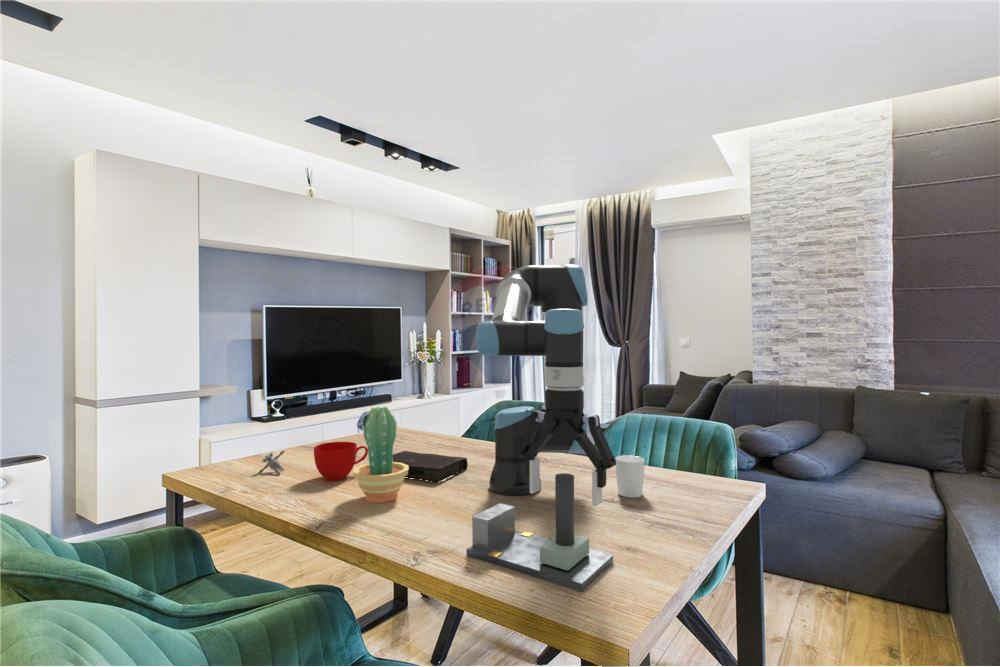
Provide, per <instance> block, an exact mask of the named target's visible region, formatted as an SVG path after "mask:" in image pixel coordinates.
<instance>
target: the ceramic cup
mask: <svg viewBox="0 0 1000 667" xmlns="http://www.w3.org/2000/svg"><path fill="white" fill-rule="evenodd" d="M366 446H367V445H366ZM366 446H365V445H360V446H358V445H357V443H355V442H352V441H332V442H324V443H320V444H317V445H315V446H314V447H313V458H314V464H315V467H316V469H317V472H318V473H319V474H320V475H321V476H322V478H324V480H326V481H333V480H334V481H340V480H341V481H342V480H344V479H346V478H347V477H348V475H349V474H350V473H351V472H352V471H353V470H354V468H355V465H357V464H359V463H361V462H362V461H364V460H365V459H366V458H367V456H368V446H367V447H366ZM362 449H364V450H365V452H364V454H363V456H362V457H361V458H359V459H358V460H357V453H358V451H360V450H362Z"/></svg>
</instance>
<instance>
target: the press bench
mask: <svg viewBox="0 0 1000 667" xmlns="http://www.w3.org/2000/svg"><path fill="white" fill-rule="evenodd" d="M471 520H472V521H471V522H472V523H471V526H472V527H471V528H472V529H471V530H472V531H471V532H472V539H471V540H472V545H471V546H469V547H467V548H466V549H465V550H466V551H465V552H466V557H468V558H471V559H475V560H479V561H481V562H484V563H487V562H488V564H490V563H491V564H492V565H494V566H498V567H501V568H504V569H506V568H507V570H511V571H513V572H517V573H520V574H523V575H525V576H529V577H533V578H536V579H537V580H541V579H542V581H545V582H549V583H551V584H554V585H557V586H562V587H564V588H568V589H571V590H574V591H577V592H580V593H583V592H584V591H585V590H586V589H587V588H588V587H589V586H591V584H593V582H594V581H595V580H597V579H598V577H600V576H601V575H602V574H603V573H604V572H605V571H606V570H607V569H609V567H610V566H611V565H612V564H614V555H613V554H610V553H606V552H603V551H599V550H596V549H591V548H589V554H588V555H586V556H585V557H584V558H583V559H582V560H580V561H579V562H578V563H577V564H575V565H574V566H573V567H572V568H571V569H569V570H564V569H561V568H557V567H554V566H551V565H547V564H544V563H540V546H542V545H543V544H545V543H546V542H548V541H549V540H551V539H552V538H548V537H544V536H540V535H537V534H534V532H533V533H532V532H529V531H521V530H517V529H516V507H515V506H513V505H509V504H505V503H498V504H495V505H493V506H492V507H489V508H487V509H485V510H483V511H481V512H479V513H477V514H475V515H473V516H471ZM491 564H490V565H491Z"/></svg>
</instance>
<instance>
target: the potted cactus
mask: <svg viewBox="0 0 1000 667" xmlns="http://www.w3.org/2000/svg"><path fill="white" fill-rule="evenodd" d="M356 428H357V434H360V431H361V432H363V438H364V440H365V443H366V446H367V449H368V454H367V456H368V462H369V463H363V464H361V465H358V466H356V467H353V470H352V474H353V478H355V479H356V481H357V484H358V485H359V488H360V490H361V491H362V492H363V494H364V495H365V499H364V500H365V501H367V502H368V501H369V503H375V502H376V503H378V502H380V503H388V502H392V501H394V500H396V499H397V497H399V495H398V492H399V491H400V490H401V488H402V486H403V484H404V481H405V479H404V478H405V476H406V475H408V470H409V466H408V465H406V464H403V463H398V462H393V454H394V444H395V442H396V441H395V440H396V437H397V420H396V418H395V416H394V415H393V413H392V412H391V410H390V409H389V408H388V407H387V406H383V407H381V406H376V407H372V408H371V409H370V410H368V411H364V412H362V414H361V415H360V416H359V418H358V420H357V422H356ZM395 498H396V499H395ZM391 500H392V501H391ZM387 501H388V502H387ZM376 503H375V504H376ZM378 504H379V503H378Z"/></svg>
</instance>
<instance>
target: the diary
mask: <svg viewBox="0 0 1000 667" xmlns="http://www.w3.org/2000/svg"><path fill="white" fill-rule="evenodd" d="M393 462H398V463H403V464H406V465H408V466H409V470H408V475H406V476H405V477H408V478H407V479H406V480H410V479H409V478H414V479H422V480H428V481H430V482H429V483H431V481H432V482H434V483H433V484H438V482H439V481H441V480H443V479H445V478H447V477H449V476H451V475H453V474H454V475H456V474H458V473H459V472H458V471H460V470H462V471H463V470H464V469H467V470H468V466H469V465H468V458H467V457H463V456H450V455H449V456H448V455H442V454H441V455H440V454H435V453H424V452H423V453H421V452H415V451H407V450H403V451H400V452H397V453H396V452H395V453H393ZM462 468H463V469H462ZM457 472H458V473H457ZM460 472H461V471H460ZM455 473H456V474H455ZM414 479H413V480H414ZM441 482H442V481H441ZM441 482H439V483H440V484H441ZM442 483H443V482H442Z"/></svg>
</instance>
